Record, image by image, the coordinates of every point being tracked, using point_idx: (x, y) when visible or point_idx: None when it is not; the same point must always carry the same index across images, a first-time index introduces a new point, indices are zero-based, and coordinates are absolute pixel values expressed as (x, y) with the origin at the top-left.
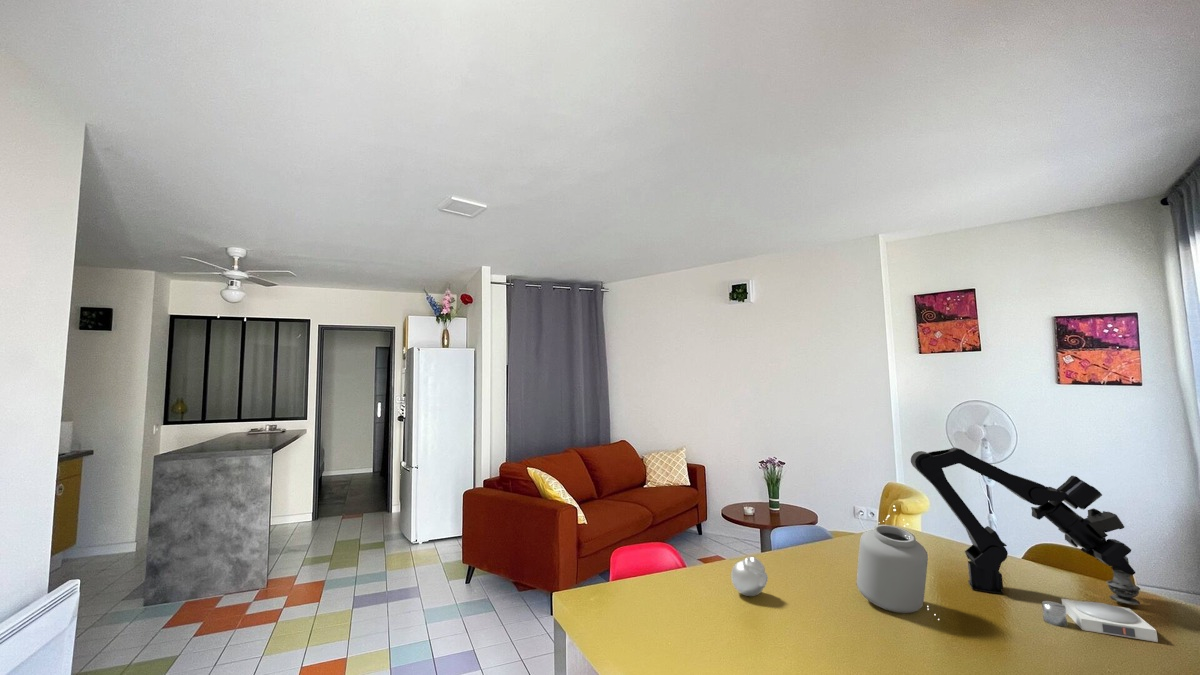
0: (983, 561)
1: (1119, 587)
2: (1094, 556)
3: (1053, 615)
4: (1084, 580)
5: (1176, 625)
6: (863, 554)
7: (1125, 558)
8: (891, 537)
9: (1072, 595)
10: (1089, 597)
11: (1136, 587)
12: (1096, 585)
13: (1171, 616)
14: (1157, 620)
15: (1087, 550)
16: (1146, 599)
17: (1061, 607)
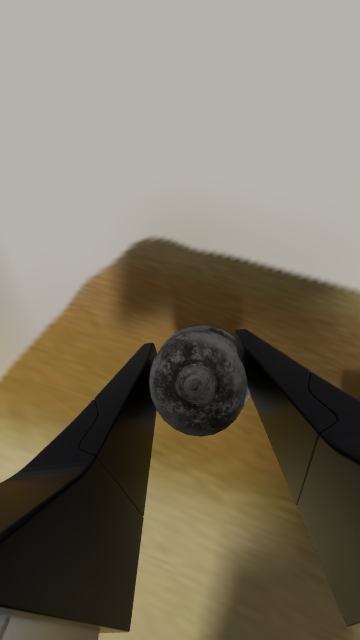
0: None
1: (246, 399)
2: (140, 532)
3: None
4: (14, 407)
5: (318, 303)
6: None
7: (238, 357)
8: None
9: (186, 506)
10: (181, 454)
11: (220, 338)
12: (50, 388)
13: (243, 291)
14: (303, 335)
15: (101, 630)
16: (125, 302)
17: None
